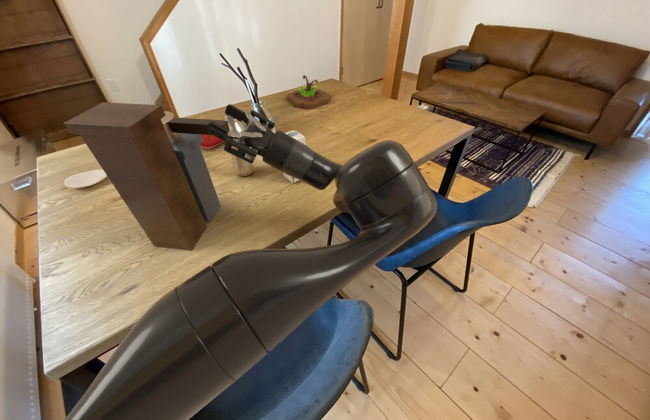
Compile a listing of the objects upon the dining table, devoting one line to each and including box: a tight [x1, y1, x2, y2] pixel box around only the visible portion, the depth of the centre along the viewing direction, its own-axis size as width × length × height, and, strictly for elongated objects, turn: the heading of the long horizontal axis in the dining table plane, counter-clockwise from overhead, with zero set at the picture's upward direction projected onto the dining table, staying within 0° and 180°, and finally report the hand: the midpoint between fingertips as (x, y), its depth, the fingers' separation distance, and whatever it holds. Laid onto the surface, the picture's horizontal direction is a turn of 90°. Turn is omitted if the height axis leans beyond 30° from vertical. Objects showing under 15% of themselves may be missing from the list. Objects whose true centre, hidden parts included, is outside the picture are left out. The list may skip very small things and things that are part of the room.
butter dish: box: [199, 135, 225, 150], centre depth 103 cm, size 12×12×8 cm
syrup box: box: [282, 129, 307, 184], centre depth 83 cm, size 6×6×14 cm
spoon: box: [63, 168, 108, 189], centre depth 90 cm, size 9×32×4 cm, turn 122°
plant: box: [286, 74, 332, 110], centre depth 132 cm, size 20×20×11 cm
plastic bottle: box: [223, 112, 255, 177], centre depth 83 cm, size 6×7×20 cm
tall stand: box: [63, 101, 208, 251], centre depth 59 cm, size 9×12×32 cm
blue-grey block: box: [172, 133, 221, 224], centre depth 69 cm, size 8×12×22 cm, turn 82°
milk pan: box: [161, 110, 230, 145], centre depth 59 cm, size 8×20×5 cm, turn 82°
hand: (217, 116), depth 55 cm, fingers open, 8 cm apart
